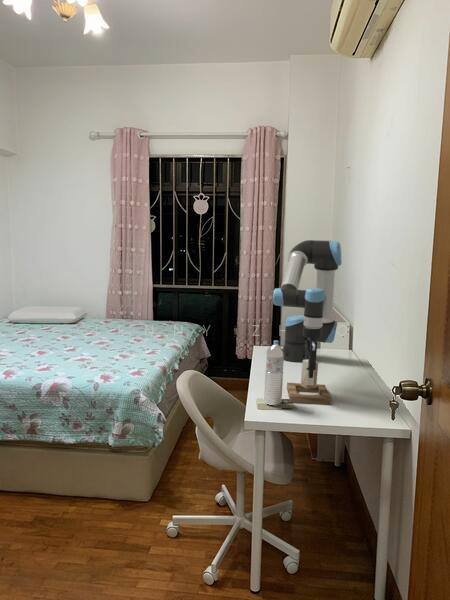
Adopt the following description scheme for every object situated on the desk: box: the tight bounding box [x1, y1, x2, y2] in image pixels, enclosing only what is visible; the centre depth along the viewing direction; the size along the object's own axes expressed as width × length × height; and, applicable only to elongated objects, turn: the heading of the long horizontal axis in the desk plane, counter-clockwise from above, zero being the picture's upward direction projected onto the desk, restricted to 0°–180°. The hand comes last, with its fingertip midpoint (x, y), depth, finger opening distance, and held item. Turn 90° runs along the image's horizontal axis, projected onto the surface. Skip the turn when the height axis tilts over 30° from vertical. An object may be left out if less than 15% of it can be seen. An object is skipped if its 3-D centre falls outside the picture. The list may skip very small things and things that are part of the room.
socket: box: [286, 382, 333, 406], centre depth 177 cm, size 16×16×2 cm
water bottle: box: [263, 340, 285, 407], centre depth 166 cm, size 7×7×25 cm
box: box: [300, 359, 319, 389], centre depth 175 cm, size 5×4×11 cm
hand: (308, 382), depth 176 cm, fingers closed on box, 6 cm apart
